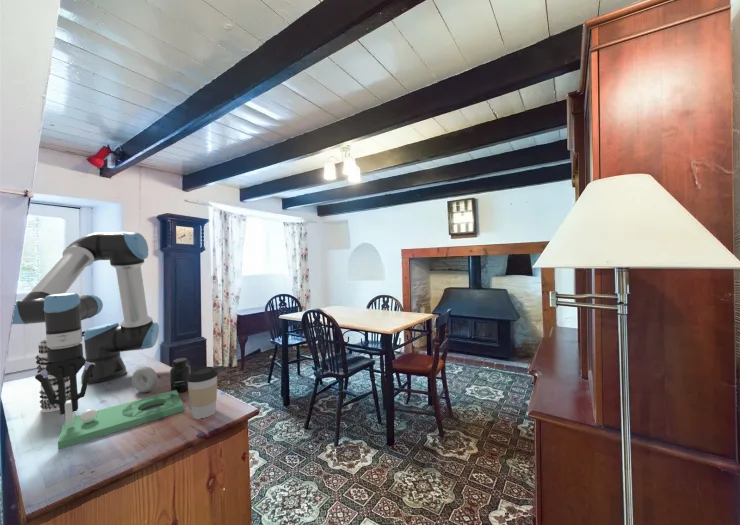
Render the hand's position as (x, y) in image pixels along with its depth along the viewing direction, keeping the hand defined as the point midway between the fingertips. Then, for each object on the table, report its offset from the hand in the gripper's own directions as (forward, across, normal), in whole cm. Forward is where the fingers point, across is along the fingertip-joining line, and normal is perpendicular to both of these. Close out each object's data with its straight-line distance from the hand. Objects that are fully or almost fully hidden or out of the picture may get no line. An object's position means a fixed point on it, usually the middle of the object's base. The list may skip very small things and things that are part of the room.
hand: (70, 422), depth 92 cm
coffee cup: (+4, +33, -15) cm, 37 cm away
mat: (+3, +13, 0) cm, 14 cm away
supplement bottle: (+4, +30, +12) cm, 33 cm away
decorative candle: (+4, -6, +28) cm, 29 cm away
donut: (+4, +19, +20) cm, 28 cm away
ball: (-1, +4, 0) cm, 4 cm away
